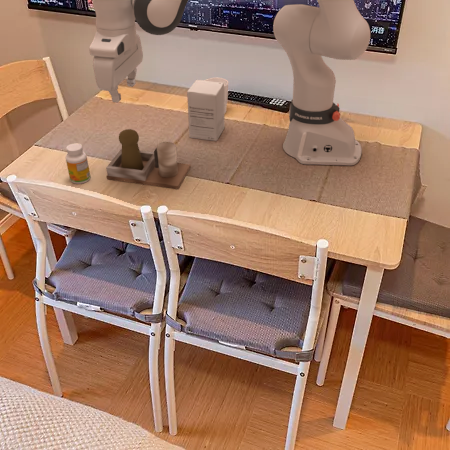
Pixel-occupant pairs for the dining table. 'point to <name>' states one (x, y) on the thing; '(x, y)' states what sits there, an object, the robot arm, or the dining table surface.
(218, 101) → the supplement box
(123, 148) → the olive brown pawn
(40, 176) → the dining table surface
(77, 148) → the supplement bottle
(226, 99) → the white cup
